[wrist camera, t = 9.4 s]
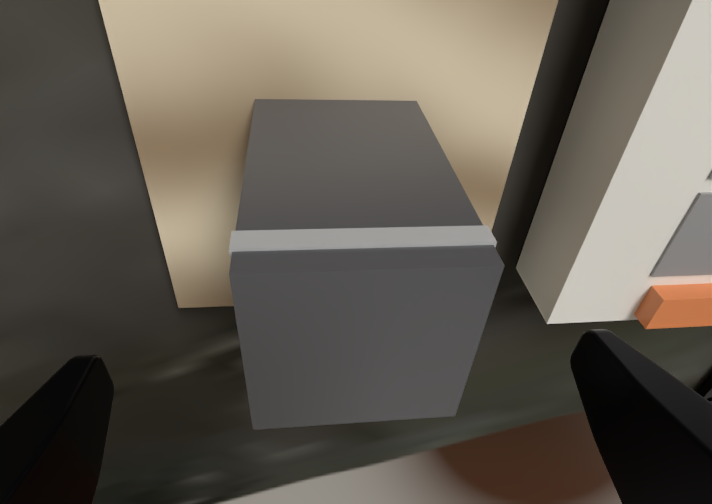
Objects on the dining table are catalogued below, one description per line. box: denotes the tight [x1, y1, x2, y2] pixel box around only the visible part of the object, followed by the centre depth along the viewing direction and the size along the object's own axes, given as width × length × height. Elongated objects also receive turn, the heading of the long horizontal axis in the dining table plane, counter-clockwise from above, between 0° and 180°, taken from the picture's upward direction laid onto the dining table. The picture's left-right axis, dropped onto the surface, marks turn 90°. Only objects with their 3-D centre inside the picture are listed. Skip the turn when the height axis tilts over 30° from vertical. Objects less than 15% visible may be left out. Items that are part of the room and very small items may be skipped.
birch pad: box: [98, 0, 558, 308], centre depth 15 cm, size 11×11×1 cm
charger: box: [229, 99, 505, 430], centre depth 12 cm, size 4×4×7 cm
